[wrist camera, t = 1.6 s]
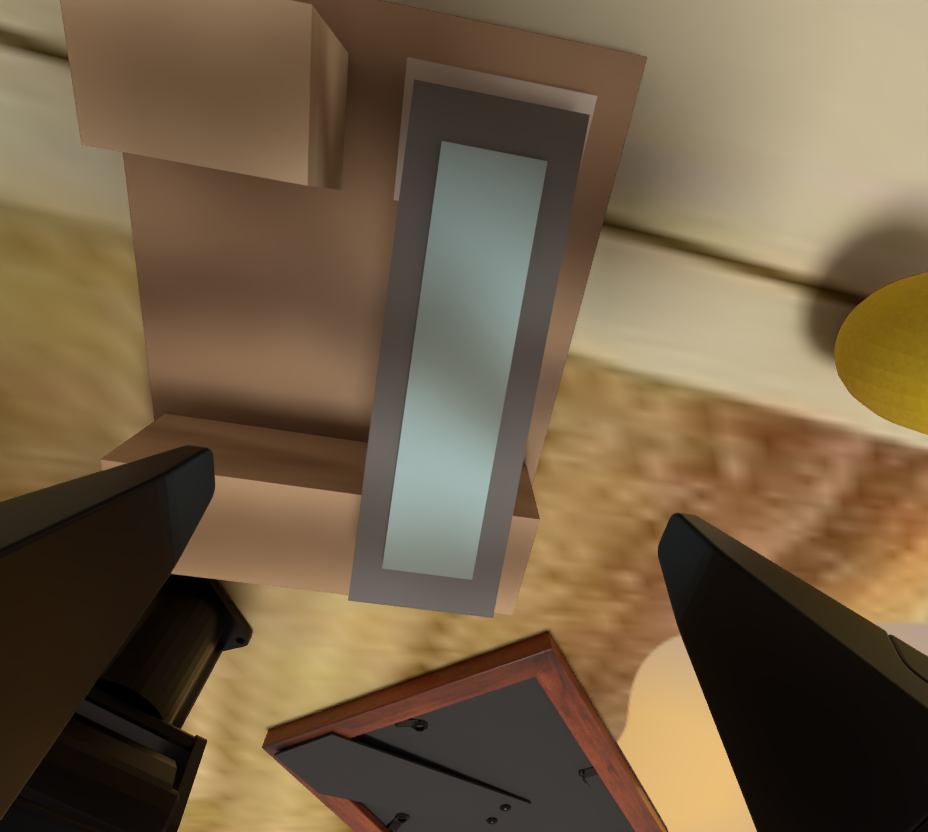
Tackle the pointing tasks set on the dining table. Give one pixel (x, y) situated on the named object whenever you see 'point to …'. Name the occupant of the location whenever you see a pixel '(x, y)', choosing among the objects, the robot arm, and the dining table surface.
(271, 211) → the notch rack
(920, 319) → the lemon
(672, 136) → the dining table surface
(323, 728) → the picture frame
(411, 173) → the picture frame
